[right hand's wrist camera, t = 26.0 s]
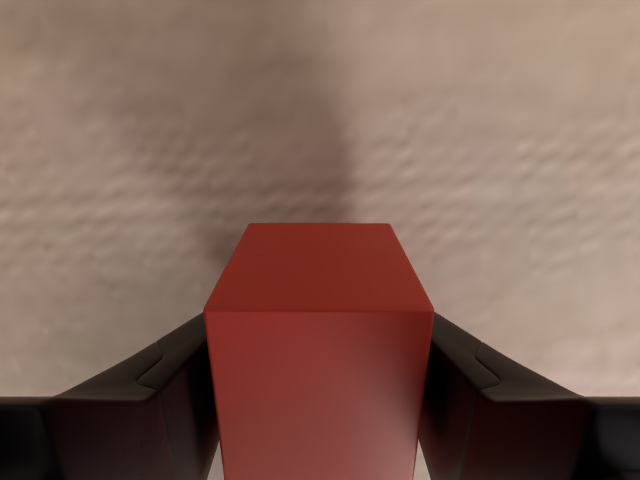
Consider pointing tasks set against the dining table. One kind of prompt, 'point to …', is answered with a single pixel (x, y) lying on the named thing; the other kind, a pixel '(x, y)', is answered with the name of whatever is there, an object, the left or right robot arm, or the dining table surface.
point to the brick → (318, 354)
